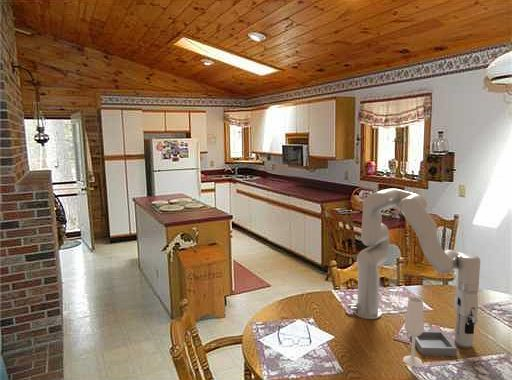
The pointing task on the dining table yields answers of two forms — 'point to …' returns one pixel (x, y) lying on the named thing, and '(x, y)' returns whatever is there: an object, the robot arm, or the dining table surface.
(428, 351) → the tray
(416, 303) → the champagne flute
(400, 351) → the dining table surface
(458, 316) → the travel mug
